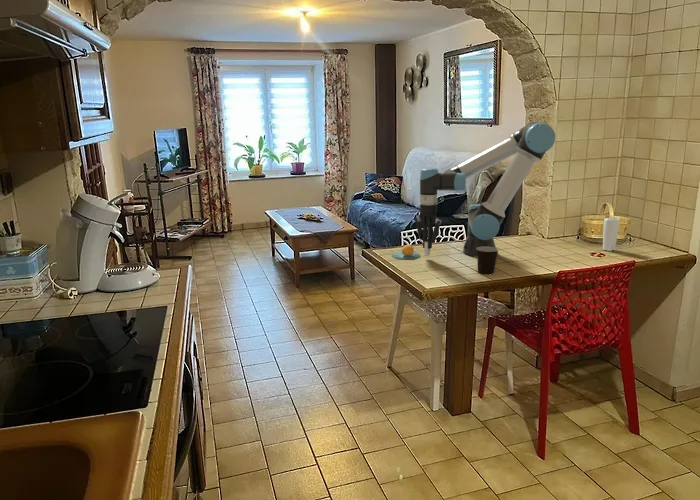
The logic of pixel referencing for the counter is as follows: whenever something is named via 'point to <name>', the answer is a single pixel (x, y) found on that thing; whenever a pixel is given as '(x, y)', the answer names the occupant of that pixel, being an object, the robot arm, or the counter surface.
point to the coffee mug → (486, 259)
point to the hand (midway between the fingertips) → (427, 255)
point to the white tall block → (610, 233)
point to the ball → (407, 250)
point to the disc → (400, 256)
